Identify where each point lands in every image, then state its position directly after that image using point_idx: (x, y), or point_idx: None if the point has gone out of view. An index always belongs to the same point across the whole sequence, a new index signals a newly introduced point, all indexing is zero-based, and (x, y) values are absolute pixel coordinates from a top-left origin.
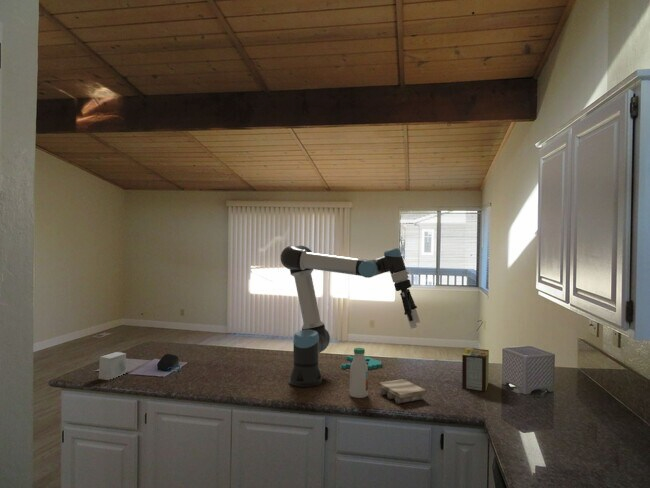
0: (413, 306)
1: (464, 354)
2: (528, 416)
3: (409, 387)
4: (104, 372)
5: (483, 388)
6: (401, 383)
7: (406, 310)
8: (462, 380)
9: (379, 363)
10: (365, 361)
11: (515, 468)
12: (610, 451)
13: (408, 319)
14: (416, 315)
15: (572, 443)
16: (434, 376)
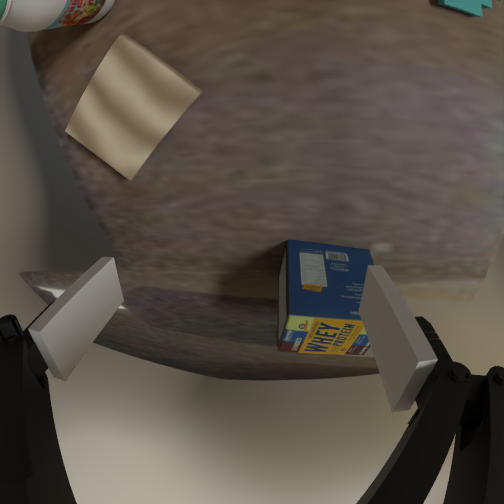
0: (406, 432)
1: (293, 319)
2: (175, 314)
3: (124, 134)
4: None
5: (278, 281)
6: (147, 101)
7: (5, 367)
8: (287, 254)
9: (455, 1)
10: (21, 24)
11: (33, 277)
12: (128, 345)
13: (60, 301)
14: (377, 346)
15: (121, 328)
16: (383, 175)
